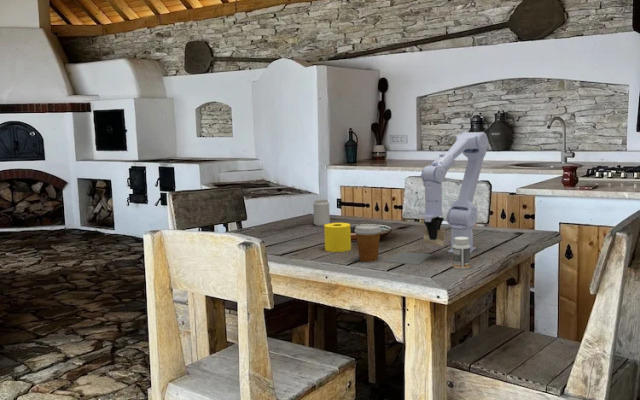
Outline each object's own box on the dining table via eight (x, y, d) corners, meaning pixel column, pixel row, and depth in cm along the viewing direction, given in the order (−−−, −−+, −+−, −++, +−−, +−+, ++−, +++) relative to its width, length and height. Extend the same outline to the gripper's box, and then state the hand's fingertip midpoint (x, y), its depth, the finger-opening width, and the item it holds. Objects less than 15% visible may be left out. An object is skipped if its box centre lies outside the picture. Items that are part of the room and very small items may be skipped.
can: (312, 224, 293) (311, 199, 292) (327, 223, 295) (326, 198, 294) (316, 227, 286) (315, 201, 284) (331, 225, 288) (331, 200, 287)
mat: (400, 253, 226) (400, 251, 226) (432, 255, 221) (432, 254, 221) (385, 262, 212) (385, 261, 212) (418, 265, 207) (418, 264, 207)
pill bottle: (467, 265, 205) (467, 235, 204) (472, 269, 199) (472, 239, 198) (450, 265, 205) (450, 236, 204) (455, 270, 199) (455, 240, 198)
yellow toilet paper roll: (321, 248, 239) (320, 224, 238) (344, 245, 243) (344, 221, 242) (330, 253, 230) (330, 228, 229) (355, 250, 234) (354, 225, 232)
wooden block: (424, 241, 217) (425, 228, 216) (443, 244, 214) (444, 230, 213) (423, 242, 216) (424, 228, 215) (442, 245, 213) (443, 231, 212)
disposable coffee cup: (359, 256, 223) (358, 223, 222) (385, 257, 220) (384, 224, 218) (351, 262, 214) (350, 228, 213) (377, 263, 211) (377, 229, 209)
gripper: (428, 197, 221) (428, 234, 223) (415, 203, 208) (416, 242, 210) (447, 197, 218) (448, 235, 220) (436, 203, 205) (436, 243, 207)
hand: (433, 238), depth 215 cm, fingers closed on wooden block, 2 cm apart
